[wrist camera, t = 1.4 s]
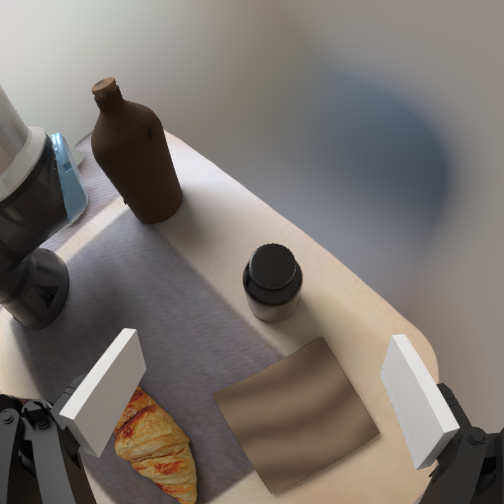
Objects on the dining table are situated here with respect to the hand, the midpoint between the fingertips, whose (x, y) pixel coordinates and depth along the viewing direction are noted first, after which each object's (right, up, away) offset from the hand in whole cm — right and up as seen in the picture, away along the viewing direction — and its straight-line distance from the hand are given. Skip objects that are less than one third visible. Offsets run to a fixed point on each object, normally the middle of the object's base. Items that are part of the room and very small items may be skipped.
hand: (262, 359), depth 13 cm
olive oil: (-17, +14, +35) cm, 42 cm away
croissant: (-14, -20, +18) cm, 30 cm away
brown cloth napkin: (+5, -16, +18) cm, 25 cm away
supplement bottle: (+2, -1, +26) cm, 26 cm away
